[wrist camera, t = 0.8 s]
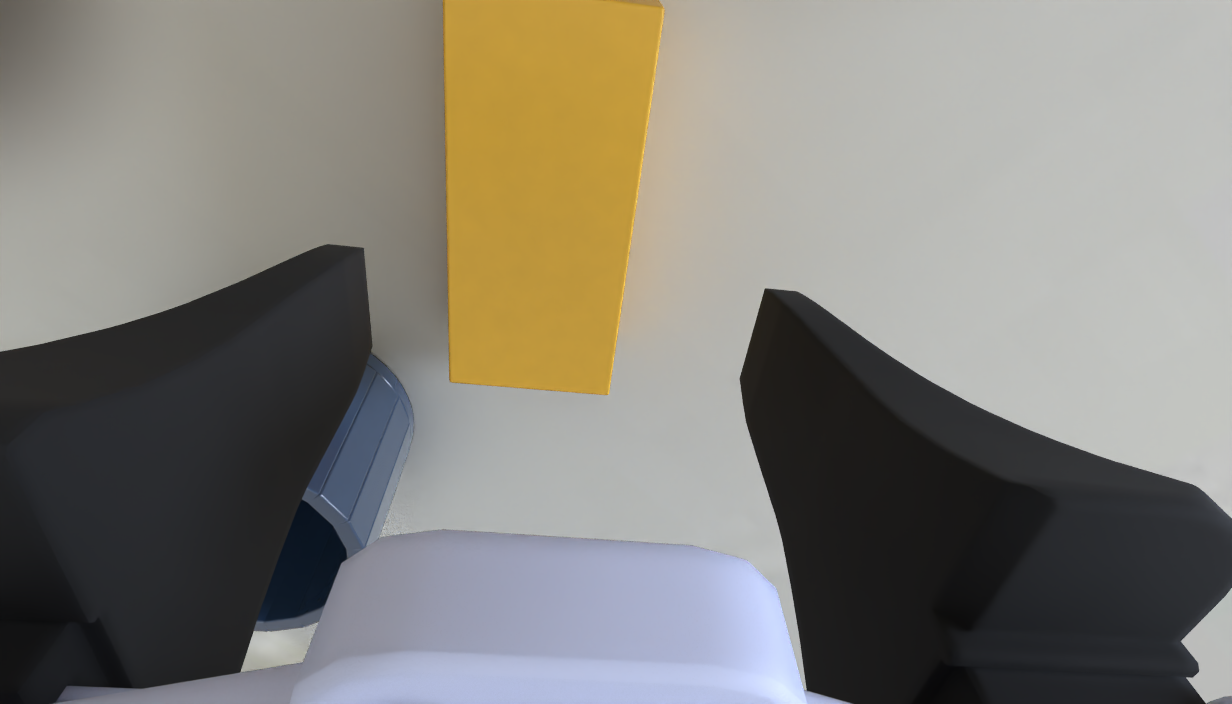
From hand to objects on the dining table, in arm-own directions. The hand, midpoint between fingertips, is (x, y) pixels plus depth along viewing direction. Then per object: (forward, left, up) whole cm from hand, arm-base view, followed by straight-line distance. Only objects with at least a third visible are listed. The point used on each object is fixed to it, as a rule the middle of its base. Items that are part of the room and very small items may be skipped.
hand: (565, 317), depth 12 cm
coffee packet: (-1, +1, -8) cm, 8 cm away
